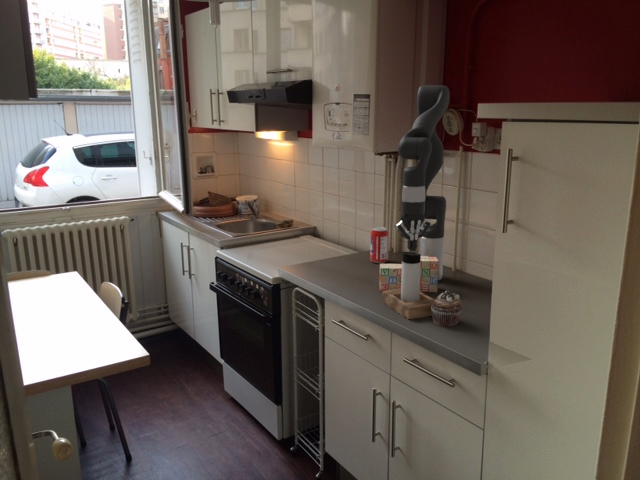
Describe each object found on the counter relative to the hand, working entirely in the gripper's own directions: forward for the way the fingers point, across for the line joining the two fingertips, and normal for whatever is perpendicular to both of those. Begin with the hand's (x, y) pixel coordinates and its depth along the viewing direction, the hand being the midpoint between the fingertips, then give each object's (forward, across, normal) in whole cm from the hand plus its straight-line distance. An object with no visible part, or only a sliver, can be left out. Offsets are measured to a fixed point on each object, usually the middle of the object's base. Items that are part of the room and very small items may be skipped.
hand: (411, 250), depth 184 cm
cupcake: (+21, -4, +15) cm, 26 cm away
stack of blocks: (+21, -10, -18) cm, 29 cm away
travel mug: (+21, 0, 0) cm, 21 cm away
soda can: (+21, -17, -55) cm, 61 cm away
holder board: (+20, 0, 0) cm, 20 cm away
